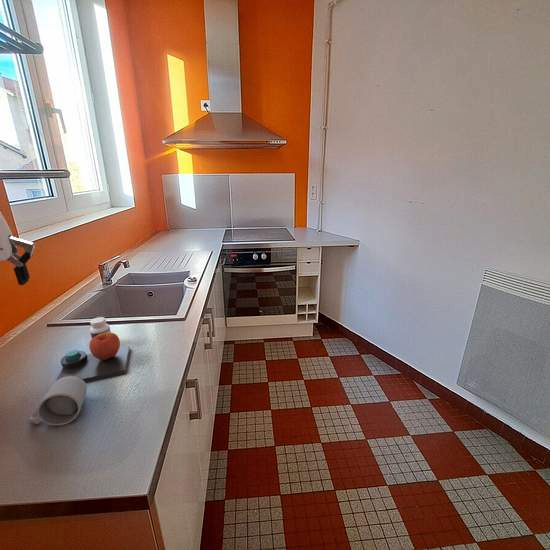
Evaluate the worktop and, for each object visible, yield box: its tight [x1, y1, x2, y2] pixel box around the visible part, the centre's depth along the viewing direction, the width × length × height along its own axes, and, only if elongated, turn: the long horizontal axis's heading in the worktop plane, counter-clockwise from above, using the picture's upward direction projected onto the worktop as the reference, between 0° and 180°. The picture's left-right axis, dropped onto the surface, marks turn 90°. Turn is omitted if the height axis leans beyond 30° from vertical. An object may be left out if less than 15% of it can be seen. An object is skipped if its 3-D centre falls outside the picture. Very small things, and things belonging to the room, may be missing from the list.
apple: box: [88, 331, 121, 360], centre depth 83 cm, size 7×7×8 cm
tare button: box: [65, 349, 80, 361], centre depth 82 cm, size 3×3×2 cm
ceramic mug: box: [29, 376, 88, 426], centre depth 66 cm, size 11×8×8 cm
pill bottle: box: [89, 316, 112, 340], centre depth 92 cm, size 5×5×9 cm
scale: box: [55, 346, 131, 384], centre depth 82 cm, size 16×12×3 cm
